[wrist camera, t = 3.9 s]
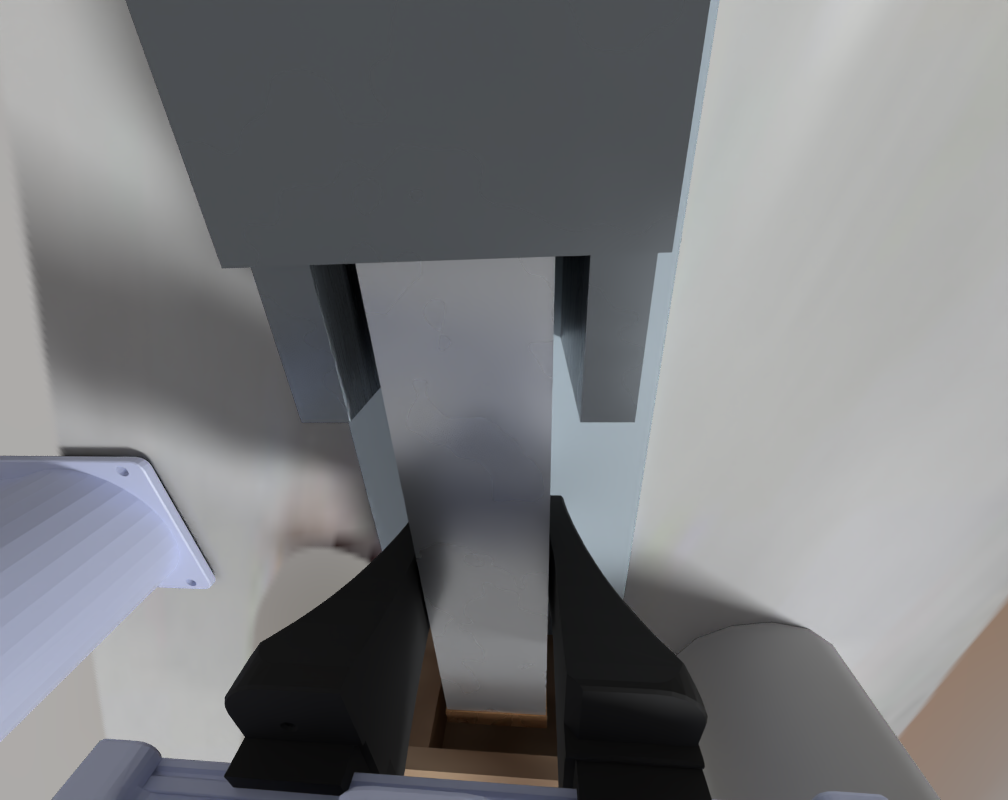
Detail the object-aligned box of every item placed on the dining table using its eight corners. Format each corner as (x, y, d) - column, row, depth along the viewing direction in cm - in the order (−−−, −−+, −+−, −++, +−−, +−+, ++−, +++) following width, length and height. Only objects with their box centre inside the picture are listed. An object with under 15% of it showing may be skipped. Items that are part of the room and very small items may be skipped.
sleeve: (392, 340, 12) (283, 438, 7) (333, 10, 9) (7, -327, 3) (592, 337, 12) (643, 440, 6) (617, -17, 8) (780, -462, 3)
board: (408, 628, 20) (405, 639, 20) (252, 2, 9) (234, -12, 9) (613, 637, 19) (615, 649, 19) (716, -42, 8) (728, -60, 8)
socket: (430, 640, 20) (389, 808, 14) (420, 597, 18) (371, 766, 13) (588, 648, 19) (611, 826, 13) (593, 604, 17) (621, 785, 12)
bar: (468, 602, 18) (448, 722, 14) (418, 212, 10) (340, 211, 6) (543, 605, 17) (546, 728, 13) (548, 206, 10) (559, 200, 6)
